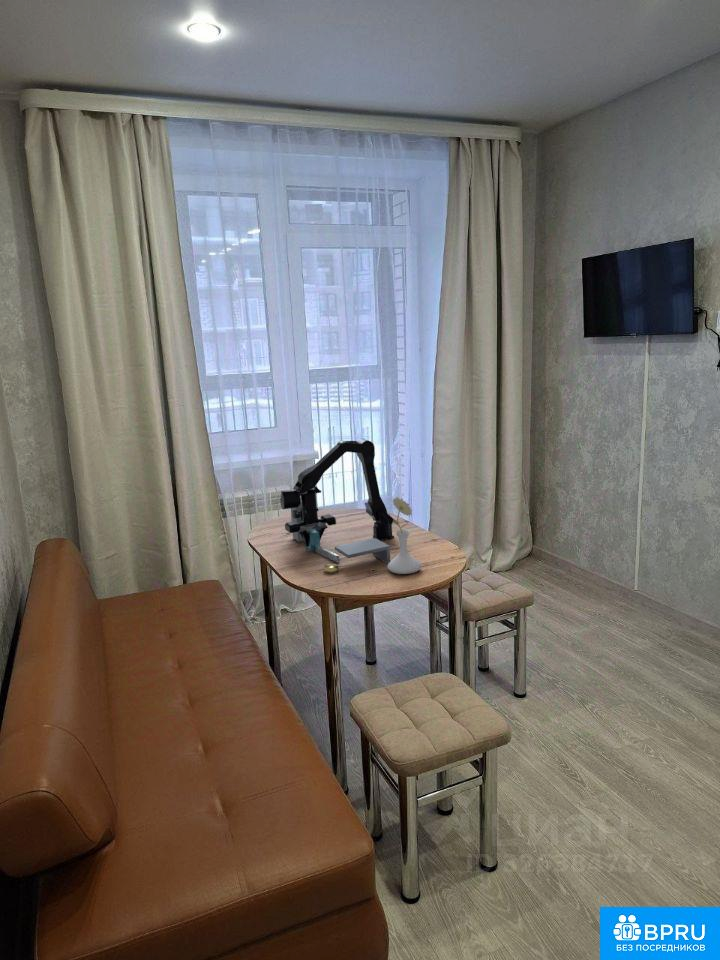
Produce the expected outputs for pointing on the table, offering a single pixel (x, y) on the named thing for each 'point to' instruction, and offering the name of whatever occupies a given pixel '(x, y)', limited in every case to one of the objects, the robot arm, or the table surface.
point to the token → (331, 569)
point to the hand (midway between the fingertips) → (312, 545)
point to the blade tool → (315, 546)
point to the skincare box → (308, 528)
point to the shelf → (366, 549)
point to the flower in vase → (403, 545)
